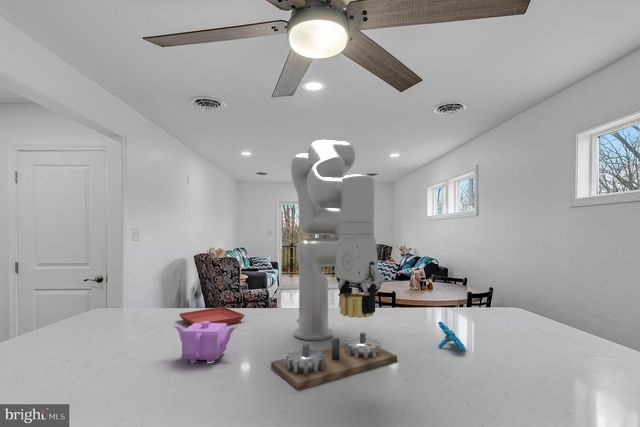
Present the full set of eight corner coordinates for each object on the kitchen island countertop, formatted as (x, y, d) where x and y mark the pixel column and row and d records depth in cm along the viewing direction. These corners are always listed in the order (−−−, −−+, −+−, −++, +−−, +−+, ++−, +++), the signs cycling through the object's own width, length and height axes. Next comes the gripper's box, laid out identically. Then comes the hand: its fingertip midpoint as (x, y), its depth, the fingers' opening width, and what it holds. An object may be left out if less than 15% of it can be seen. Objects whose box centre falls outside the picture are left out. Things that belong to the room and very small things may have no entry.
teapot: (244, 349, 102) (245, 315, 102) (231, 367, 89) (231, 328, 89) (183, 348, 102) (184, 314, 103) (161, 366, 89) (162, 327, 90)
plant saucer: (222, 314, 143) (222, 305, 143) (245, 323, 130) (245, 314, 130) (177, 322, 131) (177, 313, 131) (198, 333, 117) (198, 323, 117)
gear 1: (279, 363, 87) (279, 343, 88) (312, 355, 93) (312, 336, 93) (298, 377, 79) (298, 355, 79) (333, 368, 84) (333, 347, 85)
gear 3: (467, 351, 96) (440, 321, 100) (451, 365, 97) (425, 335, 101) (467, 344, 106) (442, 317, 110) (452, 356, 107) (428, 330, 111)
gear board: (298, 389, 77) (298, 359, 77) (271, 367, 89) (271, 341, 89) (397, 361, 93) (397, 336, 93) (363, 345, 105) (363, 323, 105)
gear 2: (338, 349, 97) (338, 331, 97) (364, 343, 102) (364, 326, 102) (360, 360, 89) (360, 341, 89) (388, 353, 94) (388, 335, 94)
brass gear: (333, 311, 80) (334, 294, 80) (359, 307, 84) (359, 290, 84) (354, 319, 74) (354, 300, 74) (380, 314, 78) (380, 296, 78)
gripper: (322, 229, 84) (321, 303, 84) (369, 231, 70) (369, 321, 70) (347, 229, 89) (346, 299, 88) (397, 231, 74) (397, 315, 74)
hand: (356, 308), depth 79 cm, fingers closed on brass gear, 7 cm apart
